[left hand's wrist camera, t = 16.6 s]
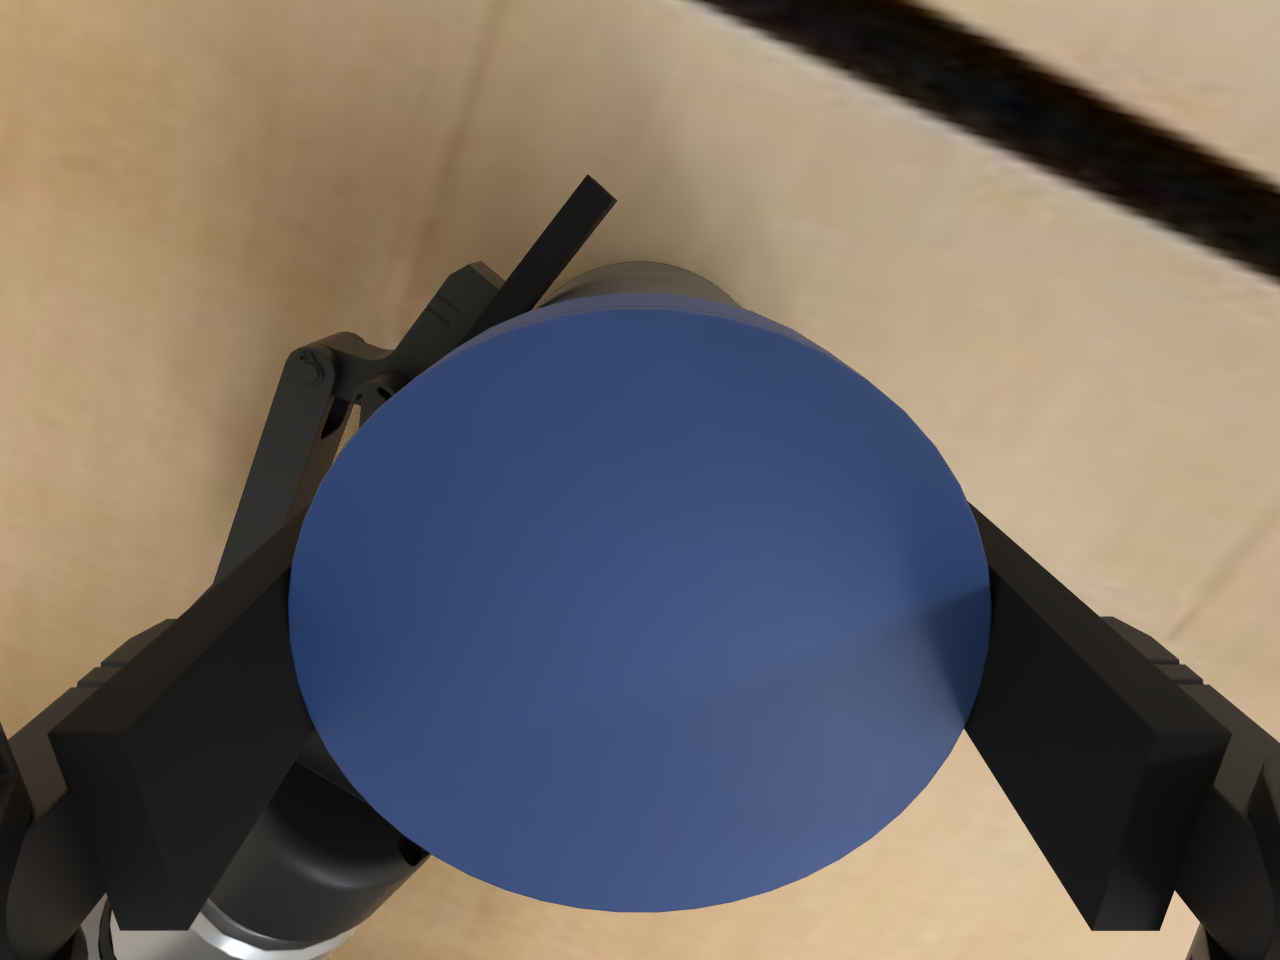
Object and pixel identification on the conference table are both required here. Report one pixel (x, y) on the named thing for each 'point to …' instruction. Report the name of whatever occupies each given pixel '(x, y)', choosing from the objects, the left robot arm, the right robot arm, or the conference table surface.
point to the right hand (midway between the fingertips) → (754, 326)
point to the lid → (639, 606)
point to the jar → (639, 283)
